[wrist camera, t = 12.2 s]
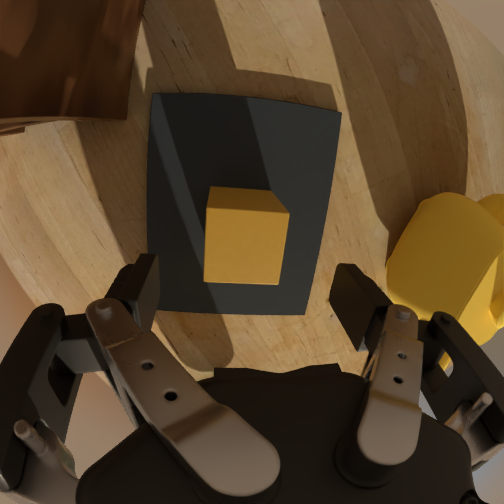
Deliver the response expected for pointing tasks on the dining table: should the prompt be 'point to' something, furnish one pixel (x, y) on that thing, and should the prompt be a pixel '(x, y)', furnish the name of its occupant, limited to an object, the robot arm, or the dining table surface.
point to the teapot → (453, 263)
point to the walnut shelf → (65, 60)
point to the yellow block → (244, 236)
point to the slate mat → (236, 176)
